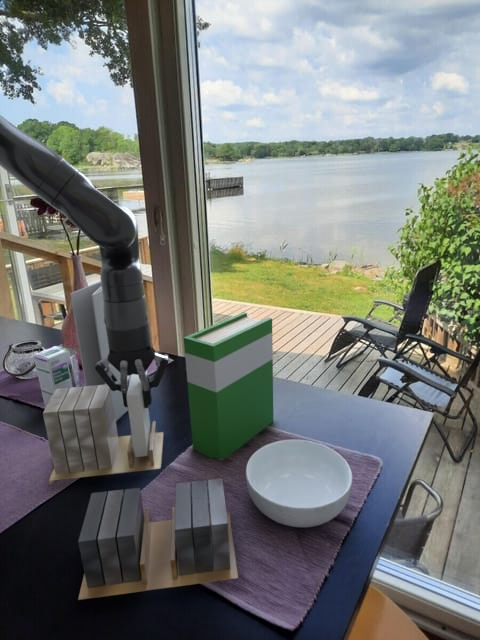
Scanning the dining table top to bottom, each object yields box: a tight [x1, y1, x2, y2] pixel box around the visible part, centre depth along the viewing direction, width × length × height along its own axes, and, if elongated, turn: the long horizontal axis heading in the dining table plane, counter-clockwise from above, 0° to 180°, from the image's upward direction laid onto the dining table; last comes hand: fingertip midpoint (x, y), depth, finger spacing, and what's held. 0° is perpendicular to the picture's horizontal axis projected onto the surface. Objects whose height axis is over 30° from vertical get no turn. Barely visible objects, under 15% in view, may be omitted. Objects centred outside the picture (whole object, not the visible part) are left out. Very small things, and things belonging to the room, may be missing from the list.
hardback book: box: [183, 311, 274, 460], centre depth 89 cm, size 18×7×24 cm, turn 141°
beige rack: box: [42, 384, 165, 486], centre depth 84 cm, size 20×12×14 cm, turn 97°
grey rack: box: [77, 478, 239, 601], centre depth 63 cm, size 21×12×9 cm, turn 97°
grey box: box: [69, 280, 131, 422], centre depth 100 cm, size 14×6×30 cm, turn 161°
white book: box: [126, 374, 152, 457], centre depth 84 cm, size 2×9×13 cm, turn 7°
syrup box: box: [33, 345, 77, 409], centre depth 104 cm, size 6×6×14 cm
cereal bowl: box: [245, 439, 353, 528], centre depth 72 cm, size 17×17×7 cm
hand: (138, 406), depth 84 cm, fingers closed on white book, 2 cm apart
